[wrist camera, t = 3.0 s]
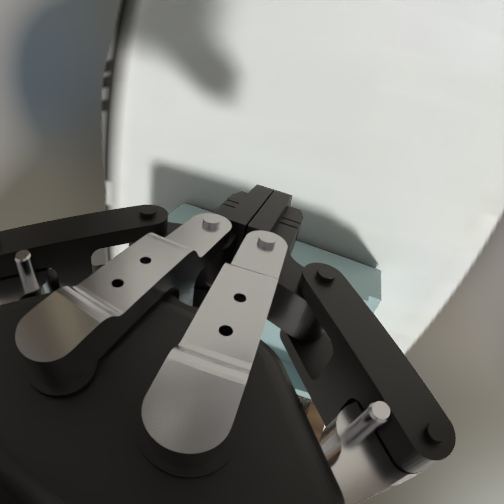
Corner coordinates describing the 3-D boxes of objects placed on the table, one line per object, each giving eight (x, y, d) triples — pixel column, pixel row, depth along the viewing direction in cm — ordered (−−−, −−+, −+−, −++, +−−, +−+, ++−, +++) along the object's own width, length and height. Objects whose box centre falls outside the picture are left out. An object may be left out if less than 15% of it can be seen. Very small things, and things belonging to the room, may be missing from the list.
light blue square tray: (183, 202, 21) (155, 225, 19) (380, 270, 19) (381, 305, 16) (177, 318, 28) (158, 344, 26) (321, 373, 26) (313, 405, 23)
